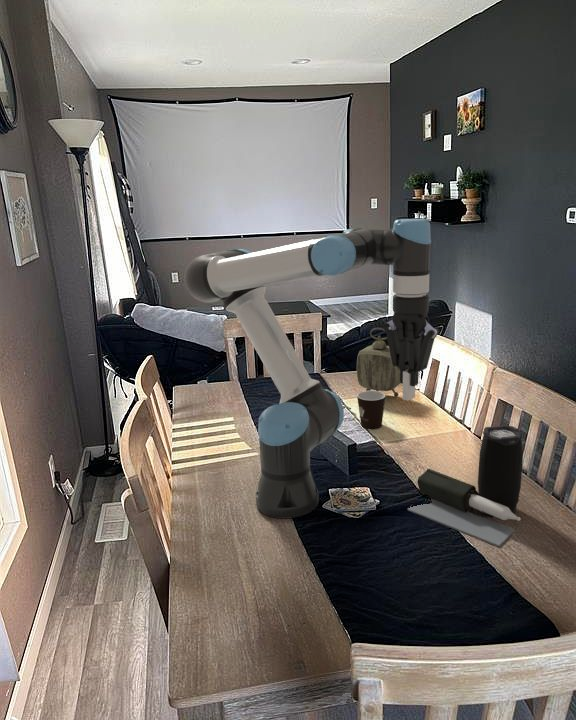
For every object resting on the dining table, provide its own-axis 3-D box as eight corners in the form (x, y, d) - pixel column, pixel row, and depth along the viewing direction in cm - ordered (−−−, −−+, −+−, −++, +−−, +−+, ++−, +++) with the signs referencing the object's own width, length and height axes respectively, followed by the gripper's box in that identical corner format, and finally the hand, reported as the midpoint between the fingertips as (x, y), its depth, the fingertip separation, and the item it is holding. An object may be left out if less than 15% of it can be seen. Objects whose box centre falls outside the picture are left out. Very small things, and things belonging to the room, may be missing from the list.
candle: (429, 466, 142) (525, 503, 123) (433, 483, 145) (528, 521, 125) (416, 478, 140) (512, 517, 121) (420, 495, 142) (515, 536, 123)
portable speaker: (469, 510, 134) (472, 431, 129) (493, 496, 140) (497, 419, 134) (502, 525, 128) (507, 443, 122) (526, 510, 133) (532, 430, 127)
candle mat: (499, 547, 120) (499, 545, 120) (407, 510, 135) (407, 508, 135) (514, 531, 125) (514, 529, 125) (424, 497, 140) (424, 496, 140)
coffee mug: (387, 430, 179) (387, 399, 176) (358, 431, 179) (358, 400, 177) (382, 416, 190) (382, 387, 187) (355, 417, 190) (355, 388, 188)
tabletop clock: (403, 396, 207) (403, 327, 200) (393, 404, 200) (393, 333, 193) (365, 390, 215) (365, 323, 207) (354, 398, 207) (353, 329, 200)
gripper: (447, 294, 123) (443, 400, 129) (395, 288, 131) (393, 387, 138) (428, 299, 117) (425, 409, 124) (375, 293, 126) (374, 396, 133)
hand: (408, 398), depth 131 cm, fingers closed
